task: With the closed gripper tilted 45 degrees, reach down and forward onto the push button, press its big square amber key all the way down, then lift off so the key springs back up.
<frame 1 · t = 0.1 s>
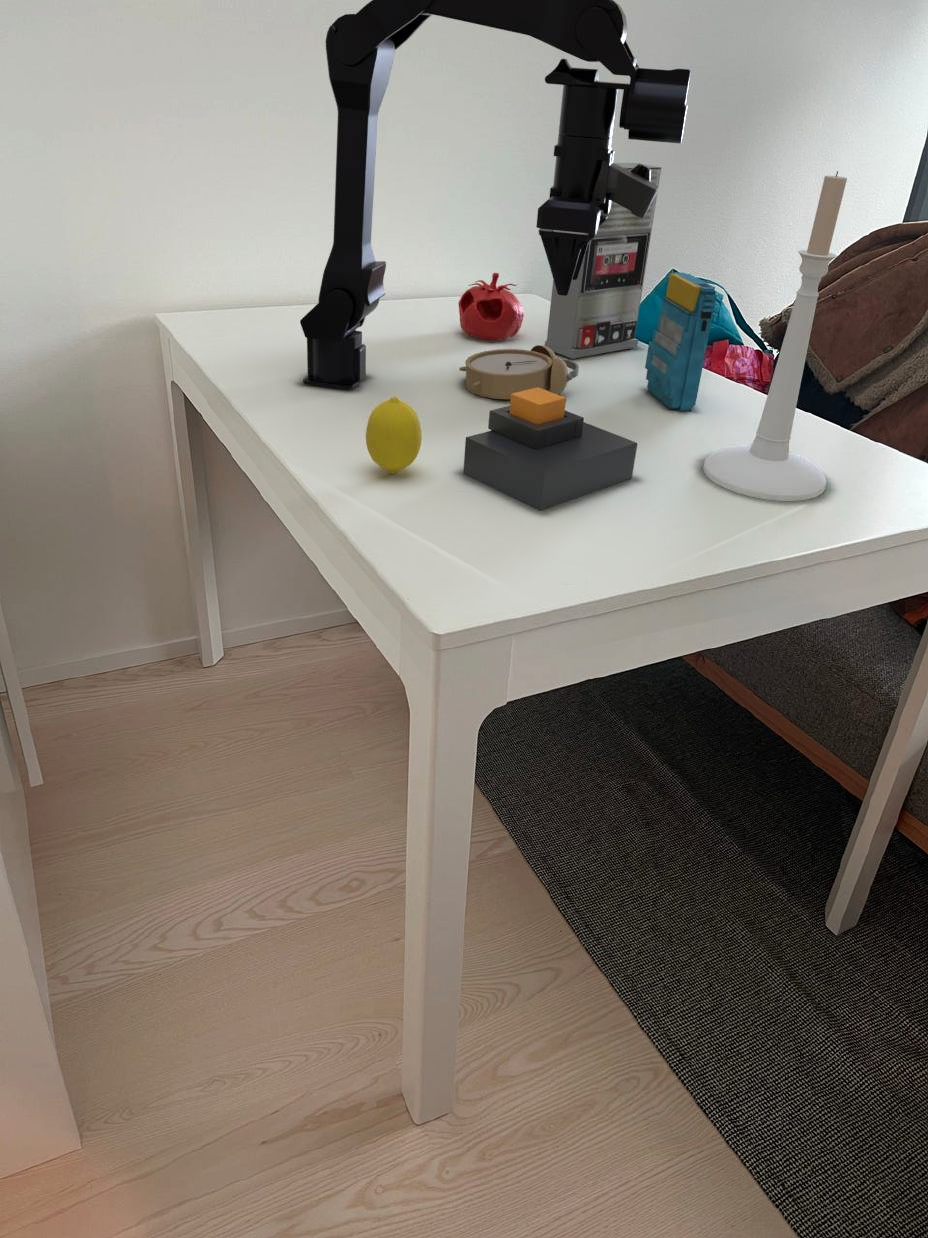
hand: (567, 286, 109), 15 cm above the table, tool pointing down, fingers open, 9 cm apart
key: (537, 406, 96), point 7 cm above the table, slide at 0.1 cm
lemon: (392, 475, 96), on the table
alarm clock: (520, 389, 123), on the table
push button: (548, 476, 98), on the table
handheld gaming console: (667, 401, 123), on the table
candlestick: (762, 478, 102), on the table
cassette tape recorder: (591, 350, 142), on the table
pomegranate: (488, 336, 145), on the table
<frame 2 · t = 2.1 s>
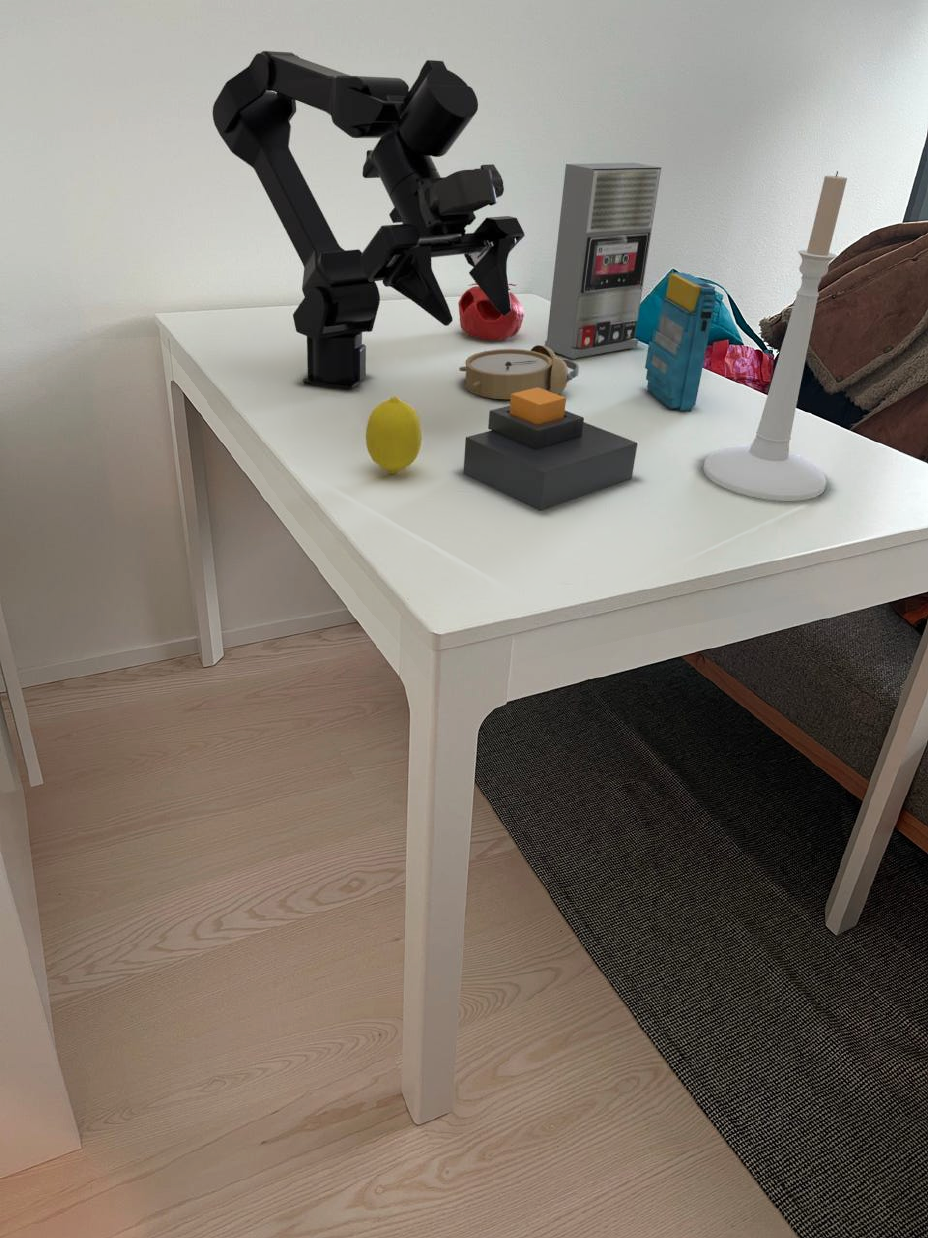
hand: (479, 318, 98), 13 cm above the table, tool tilted 45°, fingers open, 8 cm apart
nothing on the table moved.
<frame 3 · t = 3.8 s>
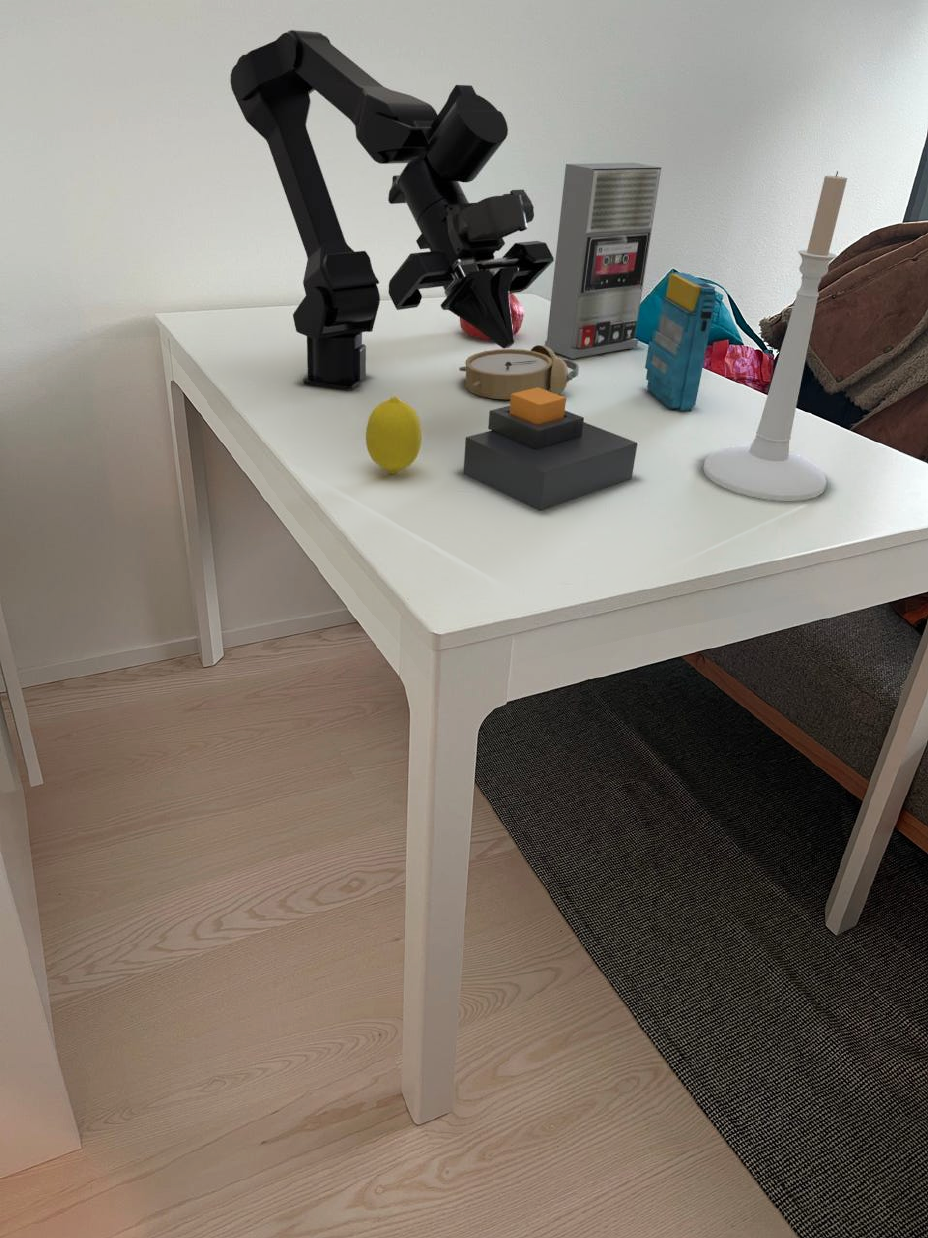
hand: (509, 345, 96), 12 cm above the table, tool tilted 45°, fingers closed
nothing on the table moved.
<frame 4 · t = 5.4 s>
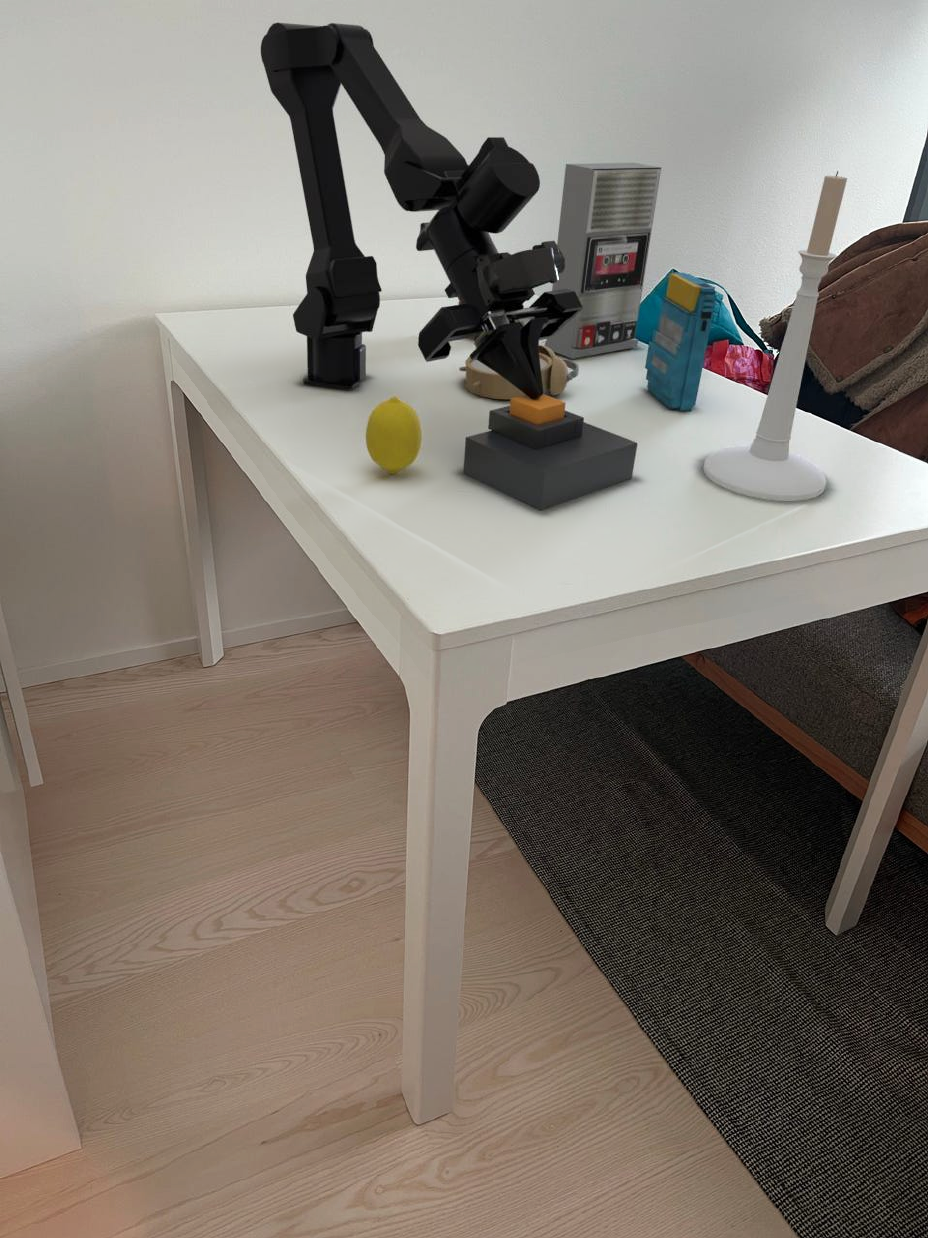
hand: (538, 397, 96), 8 cm above the table, tool tilted 45°, fingers closed, pressing on key
key: (537, 411, 96), point 6 cm above the table, slide at -0.4 cm, touching gripper
everything else where it was.
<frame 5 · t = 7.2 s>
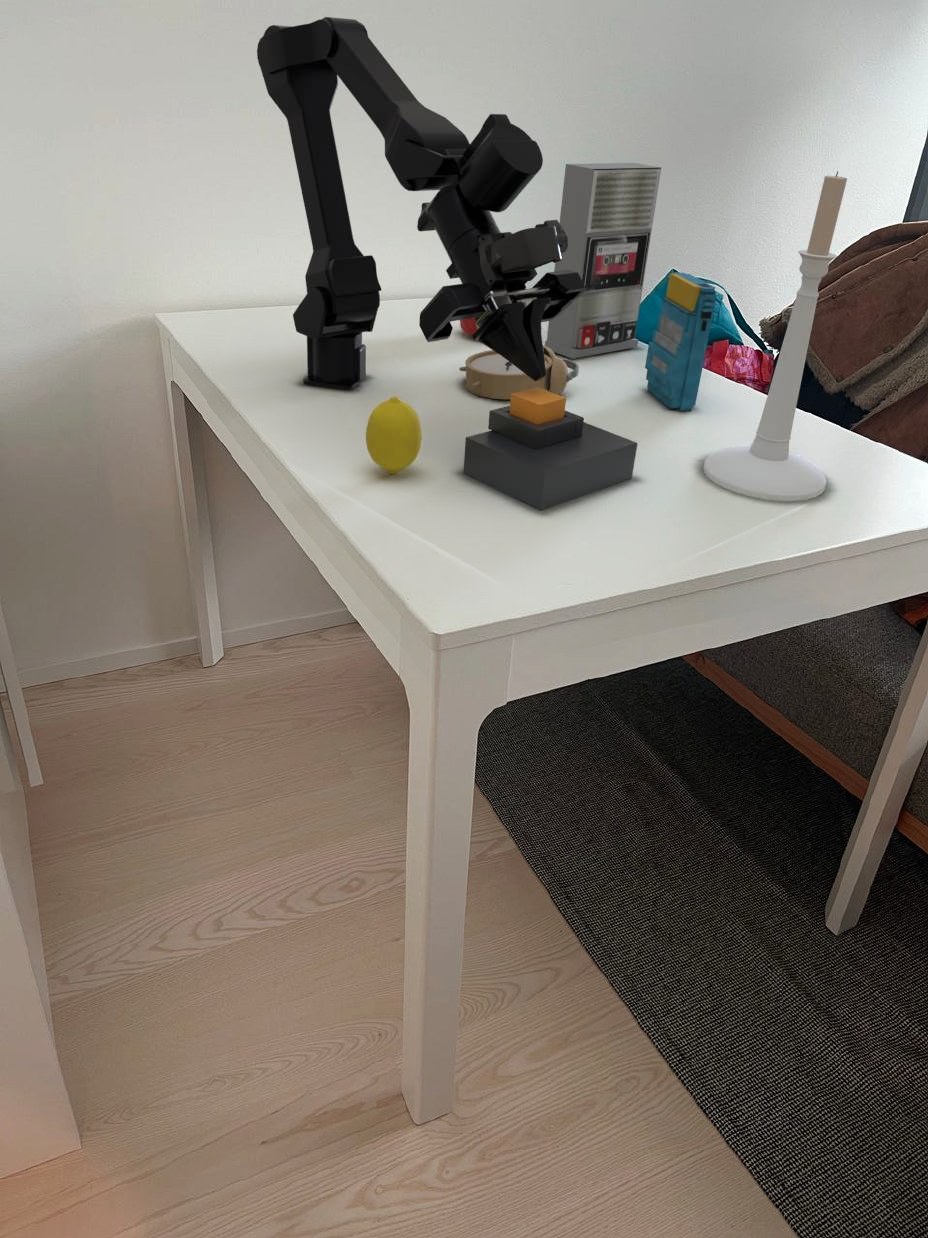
hand: (540, 378, 95), 10 cm above the table, tool tilted 45°, fingers closed
key: (537, 406, 96), point 7 cm above the table, slide at 0.1 cm
everything else where it was.
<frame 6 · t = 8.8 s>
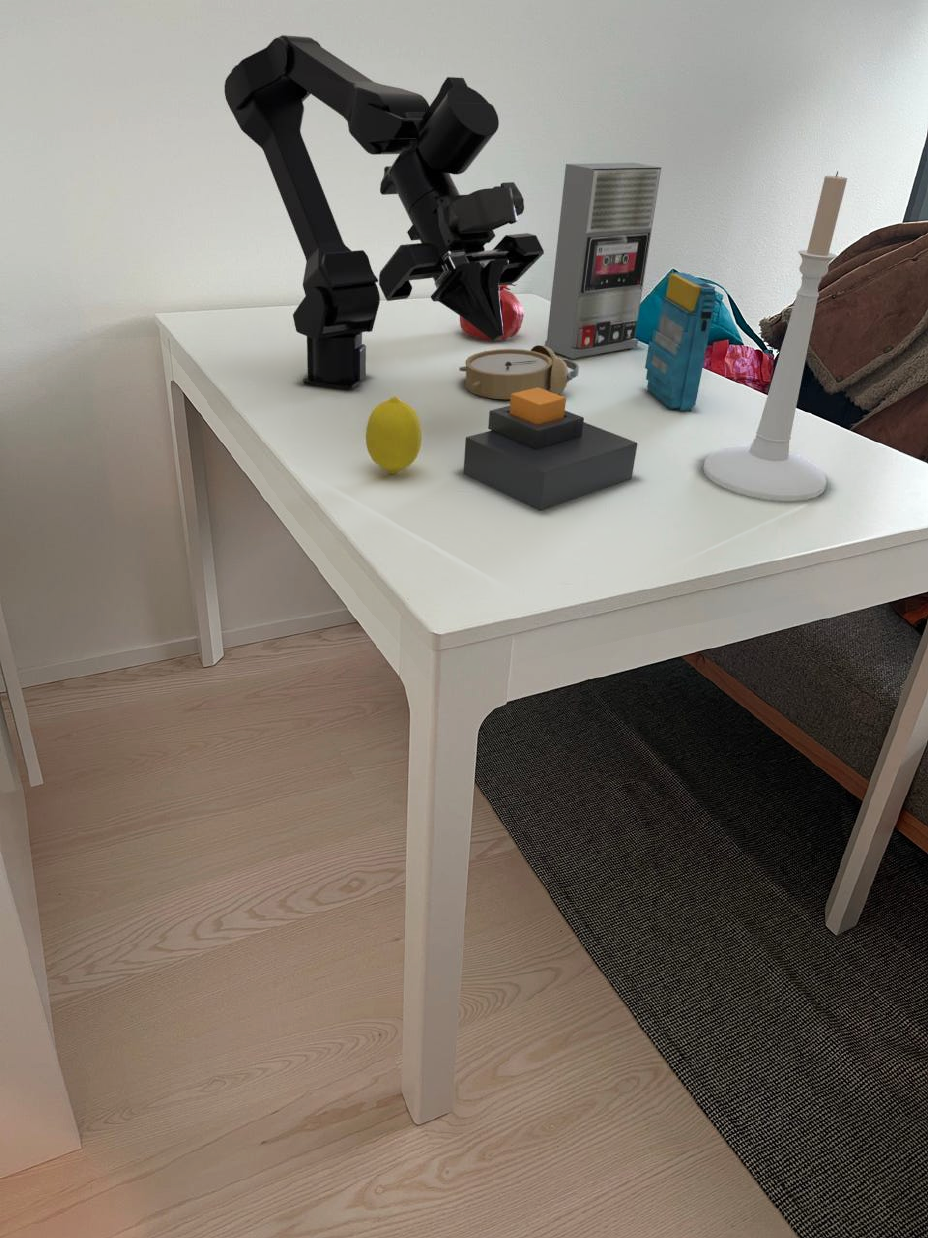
hand: (498, 337, 97), 12 cm above the table, tool tilted 45°, fingers closed
nothing on the table moved.
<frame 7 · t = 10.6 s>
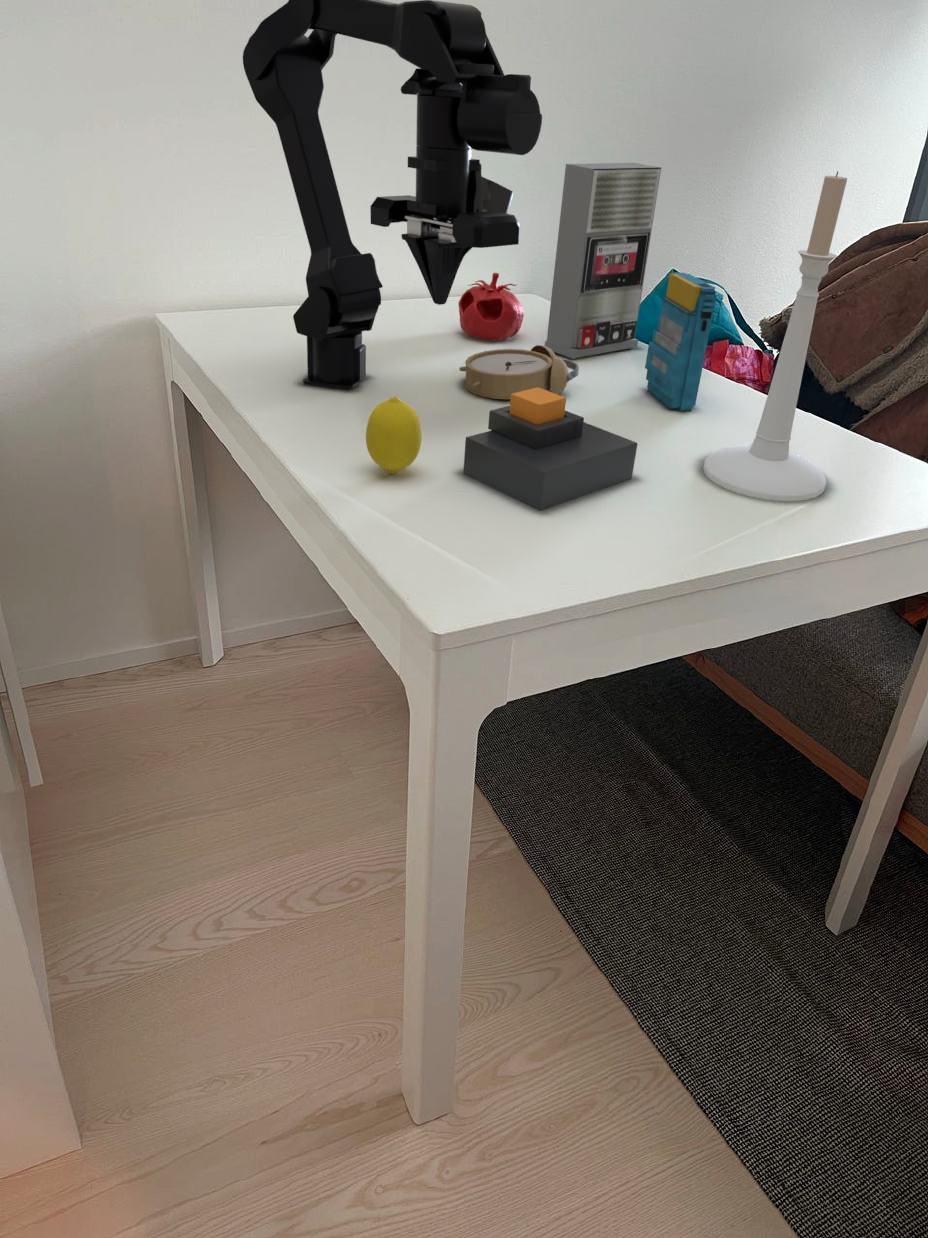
hand: (439, 303, 105), 13 cm above the table, tool pointing down, fingers closed
nothing on the table moved.
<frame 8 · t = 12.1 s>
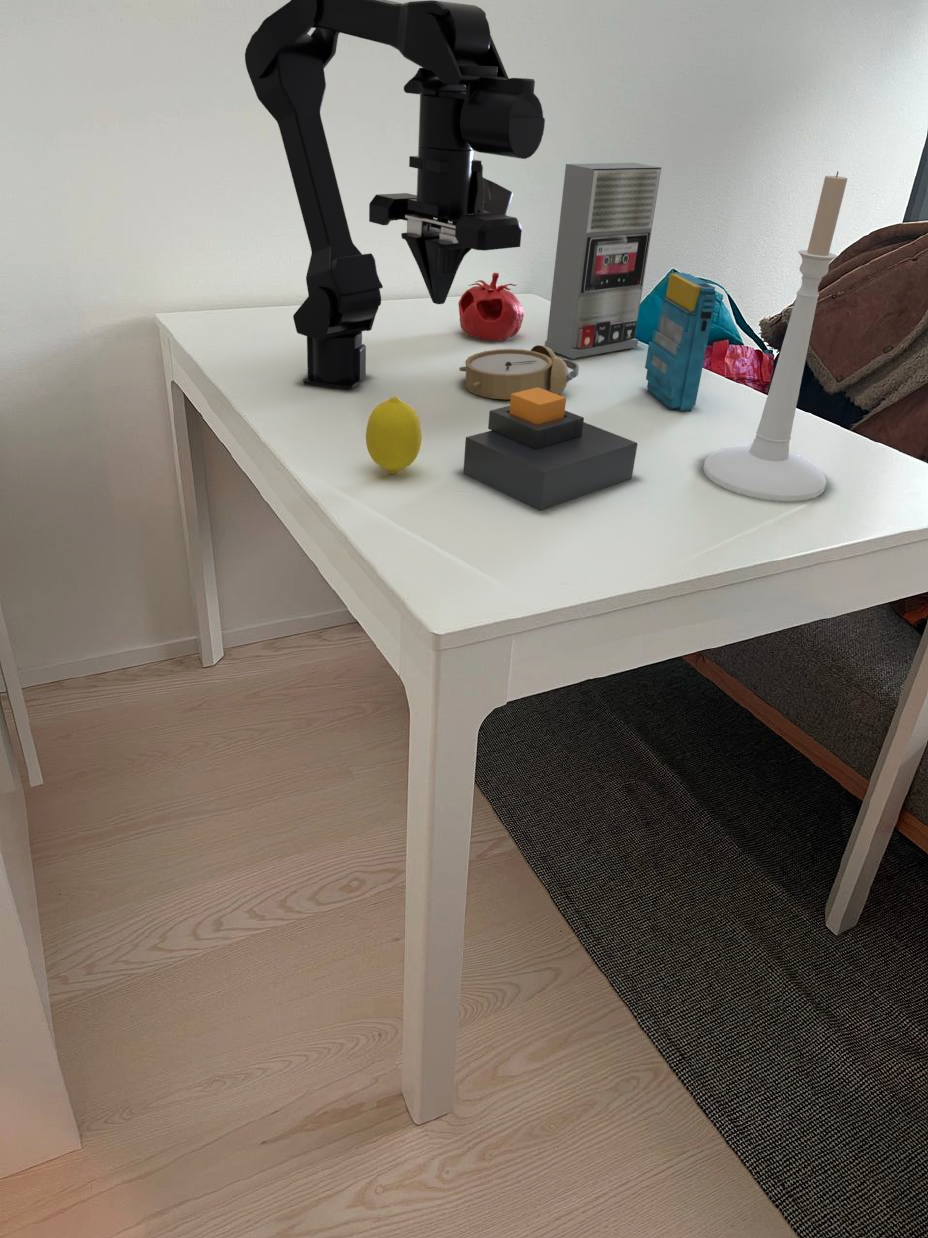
hand: (438, 303, 105), 13 cm above the table, tool pointing down, fingers closed
nothing on the table moved.
at the end: key pushed in 1.4 cm at the most during the clip, back to where it started at the end; key slide at 0.1 cm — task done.
